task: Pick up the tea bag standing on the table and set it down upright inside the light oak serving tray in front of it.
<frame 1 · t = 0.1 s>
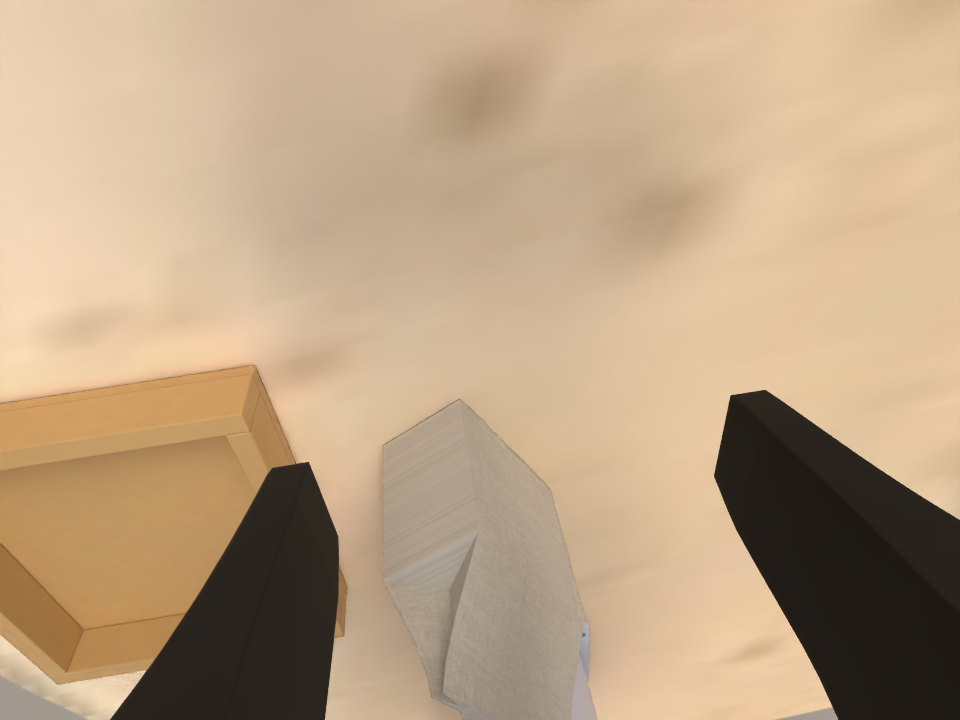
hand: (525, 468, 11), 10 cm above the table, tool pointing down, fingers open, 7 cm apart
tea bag: (470, 464, 25), on the table
tray: (153, 518, 25), on the table
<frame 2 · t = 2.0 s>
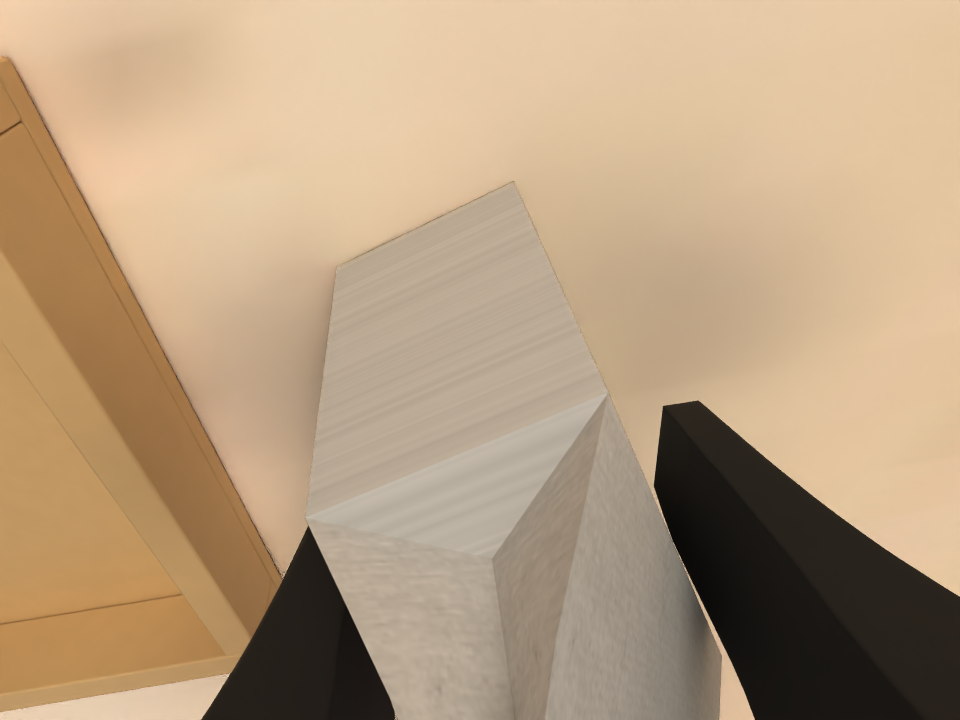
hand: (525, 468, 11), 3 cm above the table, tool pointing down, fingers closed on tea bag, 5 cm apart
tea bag: (493, 347, 14), on the table, touching gripper
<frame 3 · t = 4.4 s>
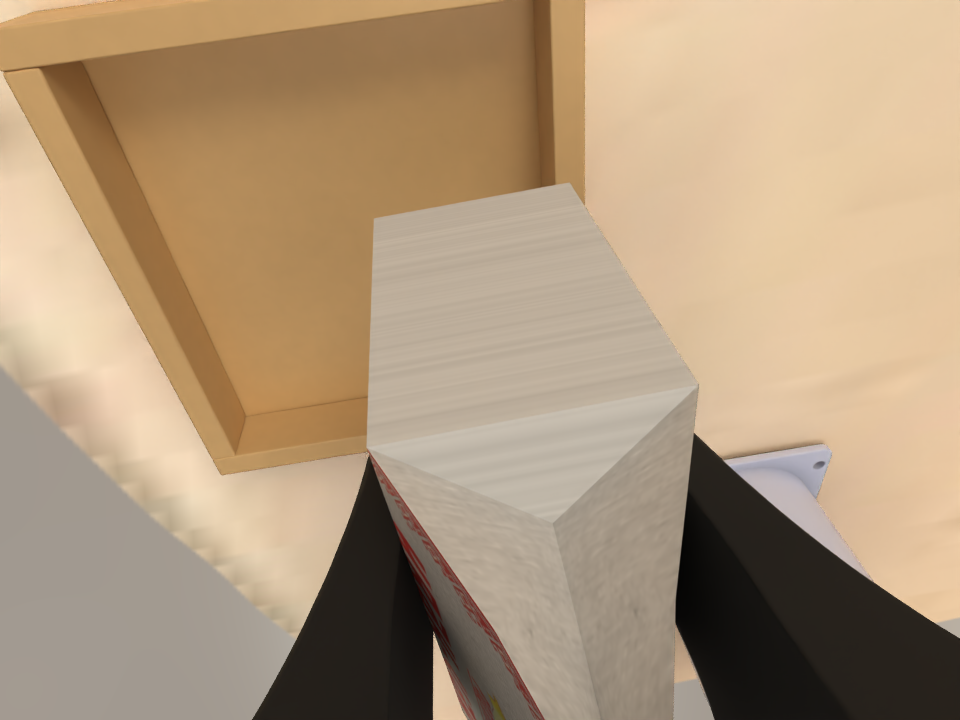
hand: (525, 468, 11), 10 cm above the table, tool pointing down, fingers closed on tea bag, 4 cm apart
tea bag: (493, 339, 14), point 7 cm above the table, touching gripper
tray: (362, 234, 19), on the table
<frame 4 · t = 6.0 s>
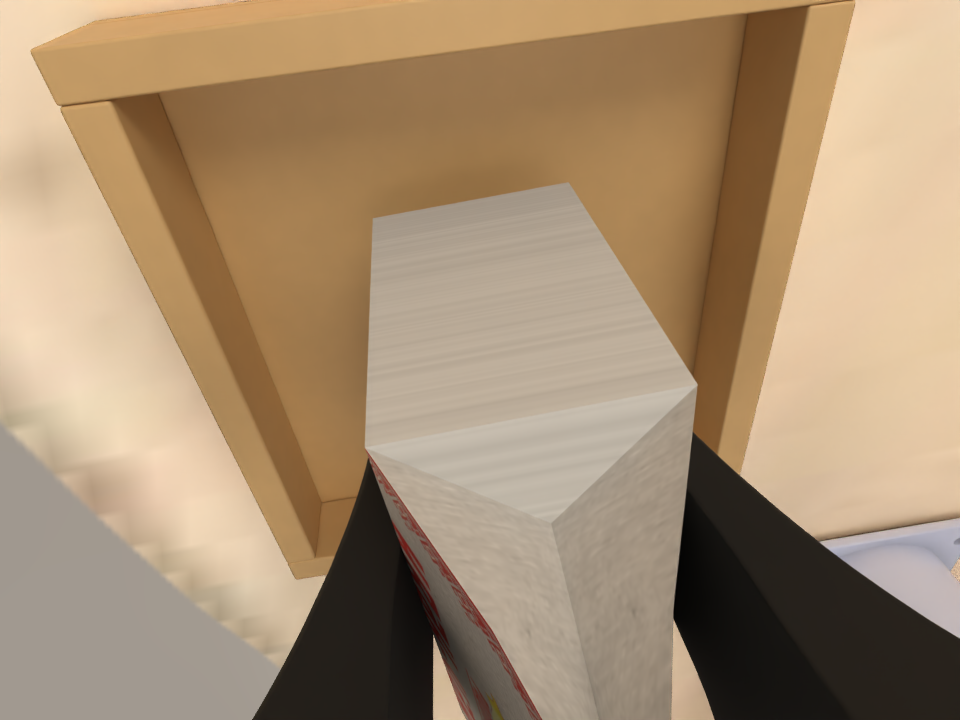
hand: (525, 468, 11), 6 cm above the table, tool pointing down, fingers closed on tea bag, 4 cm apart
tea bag: (492, 339, 14), point 2 cm above the table, touching gripper
tray: (483, 295, 15), on the table
when the fingers open (4 cm above the table, at t = 7.0 s): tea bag stays where it is, resting on tray.
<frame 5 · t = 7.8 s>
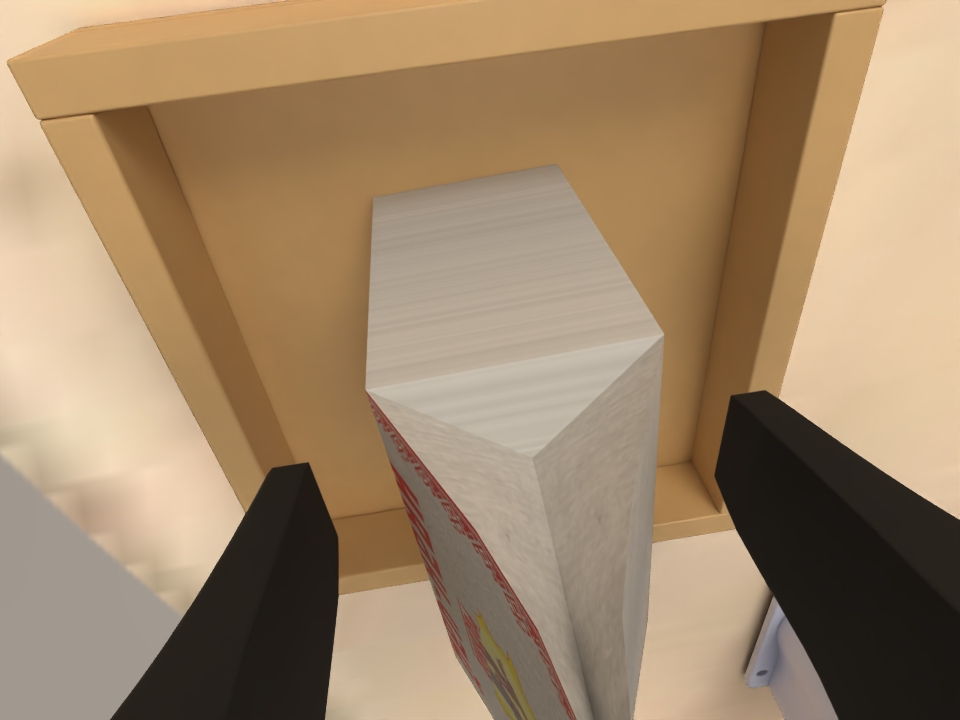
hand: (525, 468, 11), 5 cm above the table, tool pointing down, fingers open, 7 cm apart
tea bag: (486, 315, 14), resting on tray
tray: (486, 310, 15), on the table
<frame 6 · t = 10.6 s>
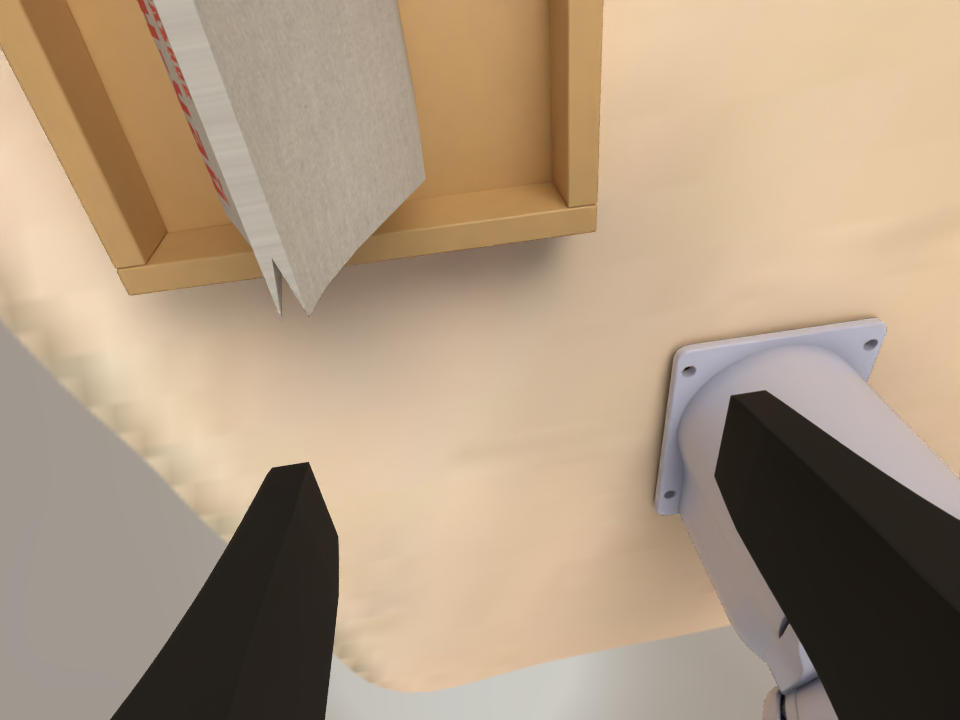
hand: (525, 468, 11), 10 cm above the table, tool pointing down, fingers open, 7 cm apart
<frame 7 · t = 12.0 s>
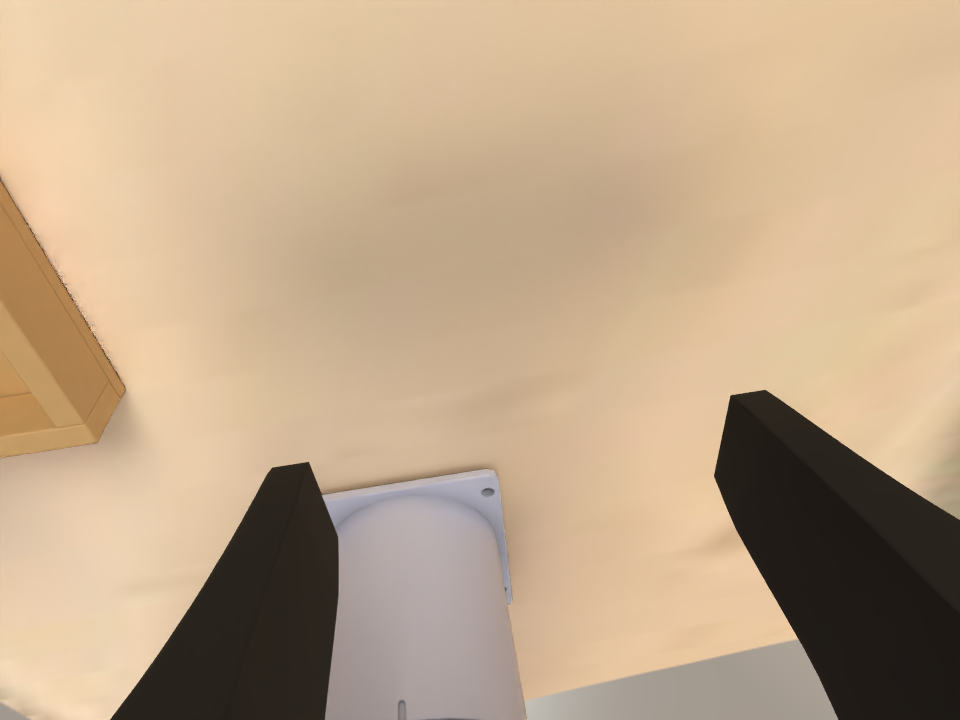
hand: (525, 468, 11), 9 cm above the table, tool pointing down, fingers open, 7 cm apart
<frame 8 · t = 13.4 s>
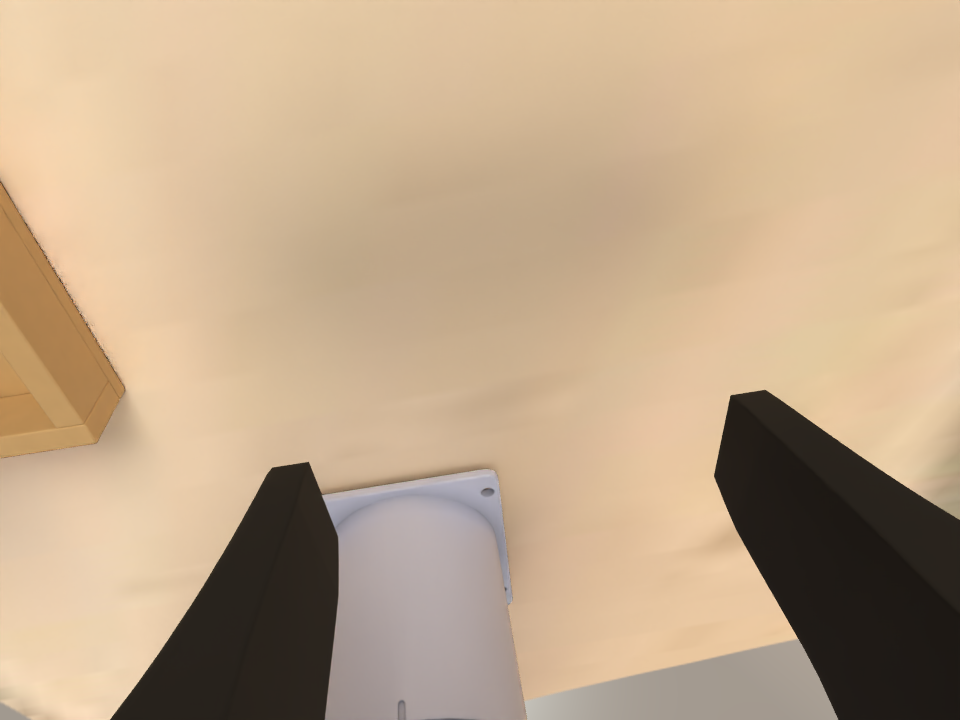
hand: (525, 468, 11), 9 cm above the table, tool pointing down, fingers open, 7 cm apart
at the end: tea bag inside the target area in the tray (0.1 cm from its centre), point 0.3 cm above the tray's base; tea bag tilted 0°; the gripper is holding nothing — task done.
